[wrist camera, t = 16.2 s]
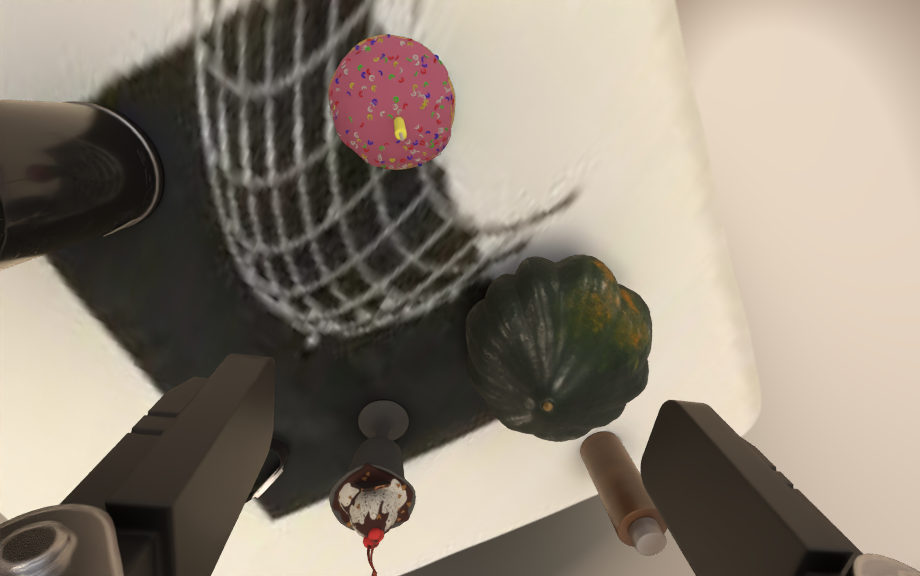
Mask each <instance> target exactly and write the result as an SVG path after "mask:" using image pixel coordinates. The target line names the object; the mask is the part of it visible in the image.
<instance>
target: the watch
mask: <svg viewBox="0 0 920 576" xmlns="http://www.w3.org/2000/svg"><path fill="white" fill-rule="evenodd" d="M270 449H273V450H274V451H275V452H276V453H277V454H278V455H279V458H280V466H279V468H278V469H277V470H276V471H275V472H274V473H273V474H272V475H271V476H270V477H269V478H268V479H267V481H266V482H265V483H264V484H263V485H262V486H261V487H260V488H259V489H258V490H256V491H254V492H250V494H249V496H248V498H247V500H246V502H245V503H247V502H248V501H250V500H251V499H252V498H254V497H257V498H258V497H259V496H260V495H261V494H262V493H263V492H264V491H265V490H266V489H267V488H268V487H269V486H270V485H271V484H272V483H273V482H274V481H275V480H276V478H277V477H278V476H279V475H280V474H281V473H282V472H283V470H282V468H283V466H284V464H285V462H286V460H287V457H288V450H287V448H286V446H285V444H284V443H283V442H281V441H280V440H278V439H274V438H272V440H271V445H270Z"/></svg>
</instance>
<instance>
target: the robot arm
mask: <svg viewBox="0 0 920 576" xmlns="http://www.w3.org/2000/svg"><path fill="white" fill-rule="evenodd" d="M163 185H164V177H163V170H162V165H161V162H160V159H159V156H158V154H157V152H156V150H155V148H154V146H153V145H152V143H151V141H150V140H149V139H148V137H147V136H146V135H145V134H144V133H143V131H142V130H141V129H140V128H139V127H138V126H137V125H136V124H134V123H133V122H132V121H131V120H129V119H128V118H127V117H125V116H124V115H122V114H120V113H119V112H117V111H115V110H113V109H110V108H108V107H105V106H102V105H99V104H94V103H88V102H62V103H61V102H44V101H22V100H0V270H3V269H6V268H9V267H12V266H15V265H17V264H20V263H23V262H26V261H29V260H31V259H34V258H37V257H40V256H43V255H46V254H48V253H51V252H54V251H57V250H60V249H63V248H65V247H68V246H71V245H74V244H77V243H80V242H82V241H85V240H88V239H91V238H94V237H97V236H100V235H103V234H105V233H108V232H110V233H108V234H106V235H109V234H112V233H114V232H116V231H118V230H120V229H123V228H126V227H129V226H132V225H135V224H137V223H139V222H141V221H143V220H144V219H146V218H147V217H148V216H149V215H150V214H151V213H152V212H153V211H154V210H155V208H156V207H157V205H158V203H159V201H160V199H161V196H162V192H163ZM111 231H112V232H111ZM106 235H105V236H106ZM274 396H275V362H274V359H273V358H272V357H263V356H254V355H244V354H234V353H231V354H229V355H228V356H227V357H226V358H225V359H224V361H223V362H222V363H221V364H220V365H219V367H218V368H217V369H216V370H215V371H214V372H213V374H212V375H211V376H210V377H209V378H203V377H193V378H191V379H189V380H188V381H186V382H184V383H182V384H180V385H178V386H177V387H175V388H173V389H171V390H169V391H167V392H166V393H165V394H164V395H163V396H162V397H161V399H160V400H159V401H158V402H157V403H156V404H155V405H154V406H153V407H152V408H151V409H150V410H149V411H148V415H147V416H145V415H144V416H143V417H142V418H141V420H140V421H139V422H138V423H137V424H136V425H135V426H134V427H133V428H132V431H131V433H127V434H126V435H125V436H124V437H123V438H122V439H121V440H120V442H119V443H118V444H117V445H116V446H115V447H114V448H113V449H112V450H111V451H110V452H109V453H108V454H107V455H106V456H105V457H104V458H103V459H102V460H101V461H100V463H99V464H98V465H97V466H96V467H95V468H94V469H93V470H92V471H91V472H90V473H89V474H88V475H87V476H86V477H85V478H84V479H83V480H82V481H81V482H80V484H79V485H78V486H77V487H76V488H75V489H74V490H73V491H72V492H71V493H70V494H69V495H68V496H67V497H66V498H65V499H64V500H63V501H62V502H61V503H60V505H55V506H49V507H44V508H41V509H37V510H34V511H30V512H28V513H25V514H22V515H19V516H17V517H15V518H12V519H10V520H8V521H6V522H4V523H2V524H0V576H211V574H212V572H213V570H214V568H215V566H216V563H217V561H218V559H219V557H220V555H221V553H222V551H223V549H224V546H225V544H226V542H227V540H228V538H229V536H230V534H231V532H232V530H233V527H234V525H235V523H236V521H237V519H238V517H239V515H240V513H241V511H242V508H243V506H244V504H245V502H246V500H247V498H248V496H249V494H250V491H251V489H252V487H253V485H254V483H255V481H256V479H257V477H258V475H259V472H260V470H261V468H262V466H263V464H264V462H265V460H266V457H267V455H268V452H269V448H270V445H271V440H272V435H273V427H274ZM641 478H642V482H643V486H644V488H645V490H646V492H647V494H648V495H649V497H650V499H651V500H652V502H653V504H654V505H655V507H656V509H657V511H658V512H659V514H660V516H661V517H662V519H663V521H664V522H665V524H666V526H667V527H668V529H669V531H670V532H671V534H672V536H673V538H674V539H675V541H676V543H677V544H678V546H679V548H680V549H681V551H682V553H683V555H684V556H685V558H686V560H687V561H688V562H689V565H690V566H691V568H692V570H693V571H694V573H695V575H696V576H920V572H919V571H917V570H916V569H914V568H912V567H910V566H908V565H906V564H904V563H901V562H899V561H897V560H894V559H891V558H888V557H885V556H881V555H877V554H863V553H862V552H861V551H860V550H859V549H858V548H857V547H856V546H854V544H853V543H852V542H851V541H850V540H849V539H848V538H847V537H845V536H844V535H843V533H842V532H841V531H839V529H837V527H836V526H835V525H833V524H832V523H831V522H830V521H829V520H828V519H827V518H826V517H825V516H824V515H823V514H822V513H821V512H820V511H819V510H818V509H817V508H816V507H815V506H814V505H813V504H812V503H811V502H810V501H809V500H808V499H807V498H806V497H805V496H804V495H803V494H802V493H801V492H800V491H799V490H798V489H794V488H793V484H792V483H791V482H790V481H789V480H788V479H787V478H786V477H785V476H784V475H783V474H782V473H781V472H778V471H776V467H775V466H774V465H773V464H772V463H771V462H770V461H769V460H768V459H767V458H766V457H765V456H764V455H763V454H762V453H761V452H760V451H759V450H758V449H757V448H756V447H755V446H753V445H752V444H750V443H749V442H747V441H746V440H744V439H743V438H741V437H740V436H739V435H738V434H737V433H736V432H735V431H734V430H733V429H732V428H731V427H730V426H729V425H728V424H727V423H726V422H725V421H724V420H723V419H722V418H721V417H720V416H719V415H718V414H717V413H716V412H715V411H714V410H713V409H712V408H711V407H710V406H709V405H707V404H704V403H696V402H686V401H677V400H668V401H666V402H665V403H664V404H663V405H662V406H661V408H660V410H659V413H658V416H657V418H656V421H655V424H654V427H653V429H652V432H651V435H650V437H649V440H648V443H647V446H646V448H645V451H644V454H643V457H642V460H641Z"/></svg>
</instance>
